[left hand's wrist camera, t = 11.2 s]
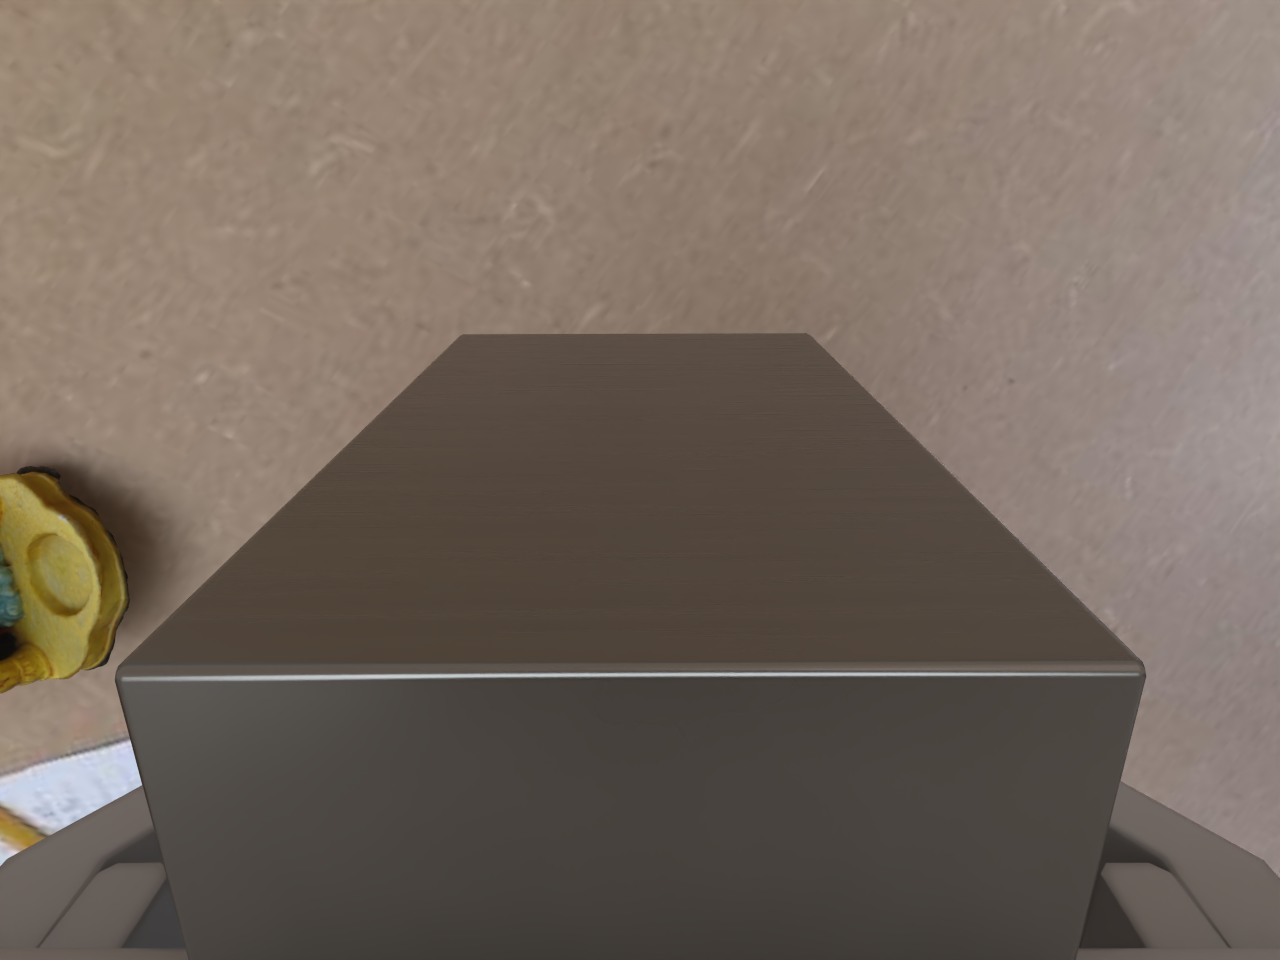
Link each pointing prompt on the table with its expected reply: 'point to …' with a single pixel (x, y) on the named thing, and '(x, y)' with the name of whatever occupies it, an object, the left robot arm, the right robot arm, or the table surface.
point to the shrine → (54, 581)
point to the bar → (632, 683)
